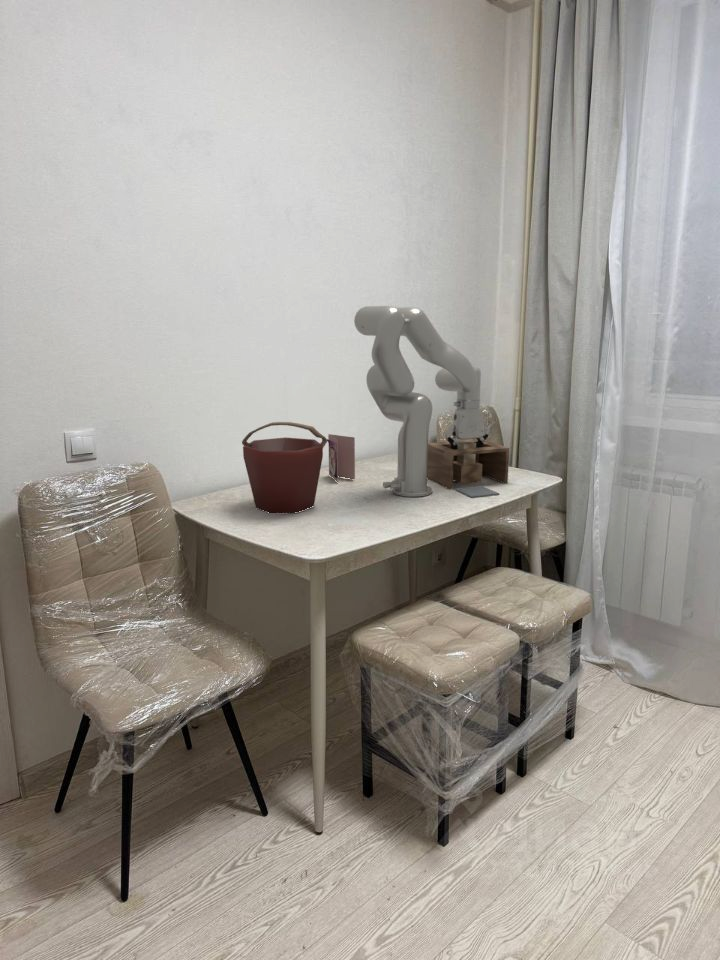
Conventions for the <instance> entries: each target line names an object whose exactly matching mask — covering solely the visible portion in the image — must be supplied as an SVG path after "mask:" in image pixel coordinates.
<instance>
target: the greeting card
mask: <svg viewBox="0 0 720 960" xmlns="http://www.w3.org/2000/svg"><path fill="white" fill-rule="evenodd" d="M327 437H328V439H327V438H326V439H327V440H328V441H327V444H328V476H329V475H330V476H331V477H333V478H334V479H335V480H336V481H337V482H338V483H339V478H338V476H339V477H345V478H350V479H355V480H356V464H355V463H356V459H355V458H356V456H355V455H356V454H355V453H356V452H355V450H356V448H355V447H356V446H355V445H356V444H355V443H356V441H355V437H353V436H348V435H347V436H346V435H339V434H331V433H328V436H327ZM331 477H330V478H331ZM337 482H336V483H337Z"/></svg>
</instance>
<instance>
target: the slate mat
mask: <svg viewBox="0 0 720 960" xmlns="http://www.w3.org/2000/svg"><path fill="white" fill-rule="evenodd" d="M455 491H456V492H458V493H460V494H462V495H465V496H466V497H469V498H470V499H475V498H483V497H484V498H485V497H492V496H493V495H494V496H499V495H500V492H497V491H495V490H492V489H490V488H488V487H486V486H484V485H480V486H471V487H461V488H455Z"/></svg>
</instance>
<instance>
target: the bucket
mask: <svg viewBox="0 0 720 960" xmlns="http://www.w3.org/2000/svg"><path fill="white" fill-rule="evenodd" d="M272 426H274V427H275V426H290V427H296V428H299V429H302V430H303V429H304V430H308V431H309V432H310V433H311V434H312V435H313V436H314V437H315V438H318V439H321V442H318V441H317V440H316V439H313V438H311V439H310V438H299V437H298V438H296V437H287V436H286V437H276V438H266V439H265V438H264V439H255V440H253V441H251V442H248V440H249V438H251V436H252V435H254V434H255V433H257V432H259V431H260V430H263V429H266V428H269V427H272ZM241 444H242V446H243V447H242V454H243V461H244V465H245V468H246V473H247V476H248V481H249V484H250V488H251V493H252V497H253V500H254V505H255V509H256V508H259V509H261V510H260V511H262V510H264V511H263V512H265V511H267V512H269V513H268V514H270V513H288V514H296V513H295V512H299V511H302V510H305V509H307V508H310V507H312V506H314V507H315V503H316V502H315V501H316V496H317V491H318V485H319V478H320V473H321V470H322V463H323V457H324V452H323V451H324V450H323V449H324V447H325V446H326V444H328V440H327V438H326V436H324V435H323V434H321V432H319V431H318V430H317V429H316V428H315V427H314V426H312V425H308V424H303V423H297V422H291V421H274V422H271V423H270V422H269V423H268V424H264V425H262V426H260V427H257V428H255V429H254V430H251V431H250V432H248V434H247V435H246V436H244V438H243V439H242V440H241ZM259 509H258V510H259ZM310 509H311V508H310ZM305 511H306V510H305ZM267 512H266V513H267ZM302 512H303V511H302ZM299 513H300V512H299Z"/></svg>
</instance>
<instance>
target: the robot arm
mask: <svg viewBox="0 0 720 960" xmlns="http://www.w3.org/2000/svg"><path fill="white" fill-rule="evenodd" d="M353 320H354V323H353V324H354V327H355V328H356V331H357V332H358V333H359V334H361V335H363V336H369V337H370V336H372V337H374V336H375V337H374V341H373V344H372V348H371V358H372V360H371V361H372V362H373V365H371V366H370V367H369V369H368V371H367V372H366V373H367V374H366V377H365V378H366V386H367V389H368V391H369V393H370V395H371V397H372V398H373V400H374V402H375V404H376V405H377V407H378V409H379V411H380V413H382V415H383V416H384V417H385V418H386V419H388V420H391V421H396V422H401V423H403V424H402V426H401V427H400V430H398V431H399V432H398V436H397V475H396V477H394V478H393V479H394V480H392V481H383V482H382V488H383V489H389V488H390V489H392V493H393V494H394V495H397V496H401V497H407V498H408V497H409V498H410V497H412V498H415V497H424V496H425V497H426V496H429V495H431V494H432V493H433V488H432V487H430V486H429V485H428V479H427V476H428V443H429V432H430V425H431V420H432V415H433V404H432V401H431V399H430V398H429V397H428V396H427V395H425V394H423V393H419V392H414V388H415V379H414V375H413V374H412V372H411V370H410V367H409V366H408V364H407V362H406V360H405V358H404V357H403V354H402V352H401V348H400V339H401V337H405V338H406V339H407V340H408V341H409V342H410V344H411V346H412V347H413V348H414V350H415V351H416V352H417V354H418V355H419V357H420V358H421V359H423V360H424V361H426V362H428V363H430V364H432V365H435V366H438V367H440V368H441V369H439V370H438V371H437V372H436V374H435V379H434V380H435V381H434V382H435V385H436V386H437V387H438V389H441V390H442V391H446V392H447V391H448V392H456V401H454V402H453V406H454V407H456V408H455V409H454V413H453V418H452V426H451V427H450V428H448V429H446V430H445V431H444V432H443V435H444V437H445V438H446V442H449V443H450V444H451V449H453V450H455V449H458V446H457V445H456V444H457V442H458V441H459V440H460V439H461V440H464V439H472V440H476V439H477V440H478V441H477V442H476V448H480V447H483V443H484V442H485V441H487V439H488V438H489V434H490V432H491V428H489V427H487V426H485V424H484V423H485V422H484V412H483V408H481V407H480V406H481V375H482V372H481V369H480V368H479V367H476V366H473V365H472V363H471V362H470V360H469V359H468V358H467V357H466V356H465V355H464V353H461V352H460V351H459V350H457V349H456V348H455V347H454V346H452V345H451V344H449V343H447V342H446V341H445V340H444V339H443V338H442V336H441V335H440V333H439V332H438V331H437V329H436V327H435V326H434V325H433V323H432V322H431V320H430V319H429V317H428V316H427V314H426V313H425V312H424V310H422V309H420V308H419V307H414V306H411V307H410V306H409V307H408V306H407V307H403V306H402V307H397V306H393V305H376V306H375V305H373V306H372V305H369V306H368V305H366V306H363V307H360V308H359V309H358V310H357V312H356V313H355V316H354V319H353ZM451 436H453V437H452V438H451ZM480 454H482V453H480ZM454 457H457V456H454Z"/></svg>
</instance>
